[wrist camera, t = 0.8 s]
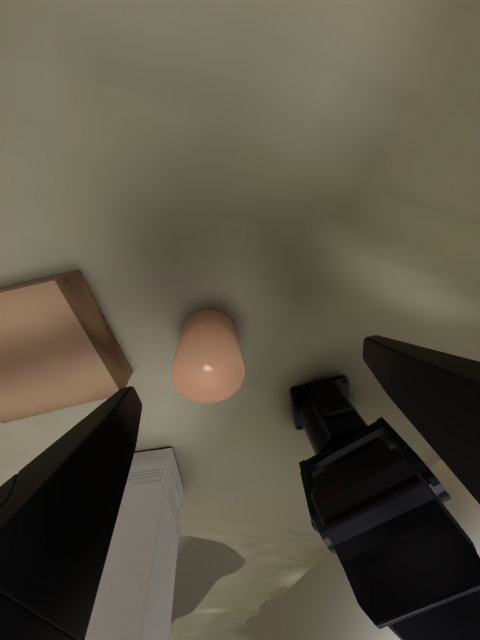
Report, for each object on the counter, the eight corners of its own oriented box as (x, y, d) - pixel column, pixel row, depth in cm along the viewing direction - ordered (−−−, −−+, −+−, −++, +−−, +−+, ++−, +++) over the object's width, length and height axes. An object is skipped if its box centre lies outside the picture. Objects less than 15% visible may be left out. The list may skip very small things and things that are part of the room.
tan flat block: (132, 371, 21) (121, 394, 19) (28, 396, 21) (2, 423, 18) (79, 269, 17) (54, 280, 14) (-53, 300, 17) (-104, 316, 14)
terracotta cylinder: (240, 349, 22) (250, 393, 16) (190, 361, 22) (184, 410, 16) (229, 303, 20) (236, 336, 14) (173, 316, 20) (160, 355, 14)
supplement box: (93, 456, 25) (-37, 725, 12) (173, 444, 26) (135, 685, 13) (115, 500, 29) (36, 741, 16) (184, 489, 30) (164, 709, 17)
